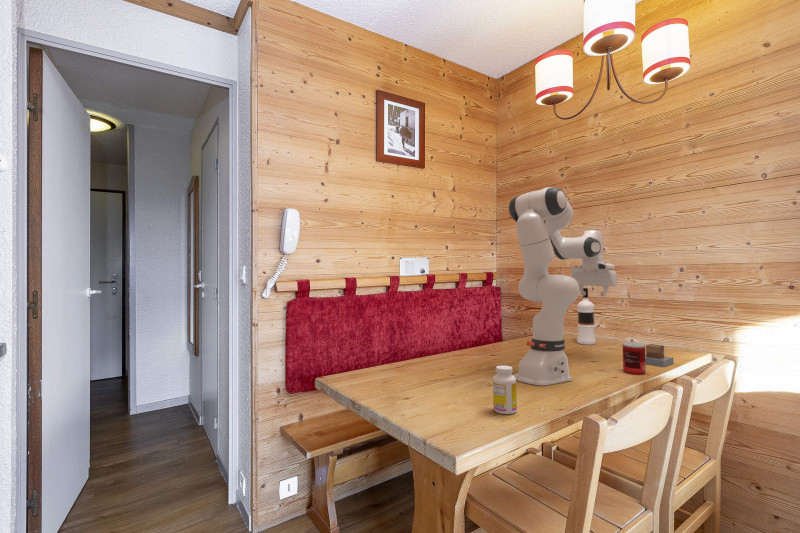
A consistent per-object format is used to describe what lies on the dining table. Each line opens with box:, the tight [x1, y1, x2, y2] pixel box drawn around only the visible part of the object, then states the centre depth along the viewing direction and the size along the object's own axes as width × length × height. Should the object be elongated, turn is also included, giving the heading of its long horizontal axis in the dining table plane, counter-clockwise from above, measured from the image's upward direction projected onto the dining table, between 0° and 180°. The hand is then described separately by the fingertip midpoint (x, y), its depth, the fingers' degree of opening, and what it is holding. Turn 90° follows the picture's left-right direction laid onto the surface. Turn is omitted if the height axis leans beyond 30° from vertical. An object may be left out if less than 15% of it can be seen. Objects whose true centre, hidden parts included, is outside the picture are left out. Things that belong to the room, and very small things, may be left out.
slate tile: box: [645, 353, 674, 368], centre depth 170 cm, size 10×10×2 cm
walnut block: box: [645, 343, 665, 359], centre depth 170 cm, size 5×5×5 cm
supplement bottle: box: [492, 365, 518, 415], centre depth 117 cm, size 7×7×13 cm
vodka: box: [576, 287, 597, 346], centre depth 214 cm, size 9×9×30 cm
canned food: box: [622, 342, 646, 376], centre depth 156 cm, size 8×8×11 cm
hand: (592, 295), depth 182 cm, fingers open, 8 cm apart
